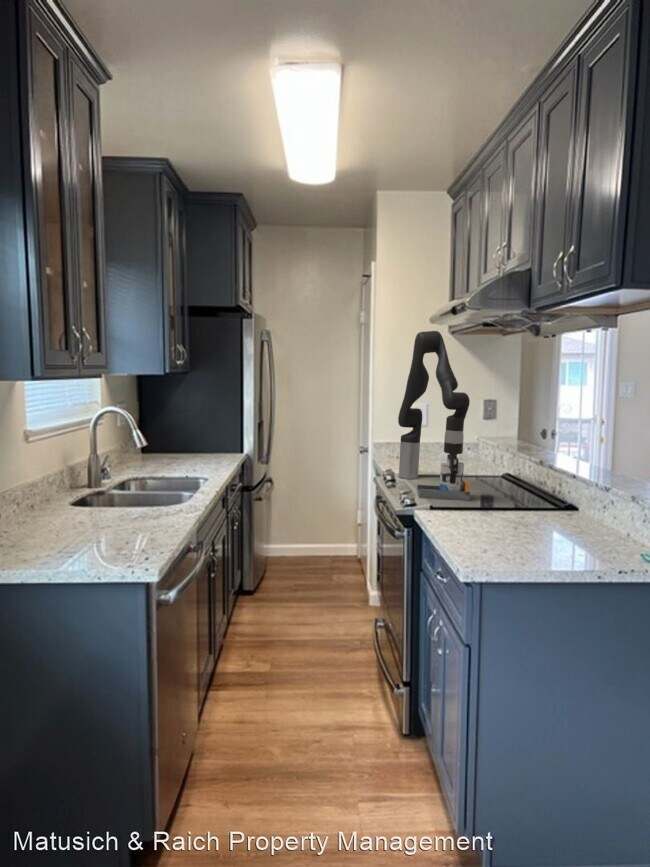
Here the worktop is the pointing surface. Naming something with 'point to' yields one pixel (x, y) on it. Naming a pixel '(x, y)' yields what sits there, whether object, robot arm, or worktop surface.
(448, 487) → the ink box
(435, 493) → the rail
